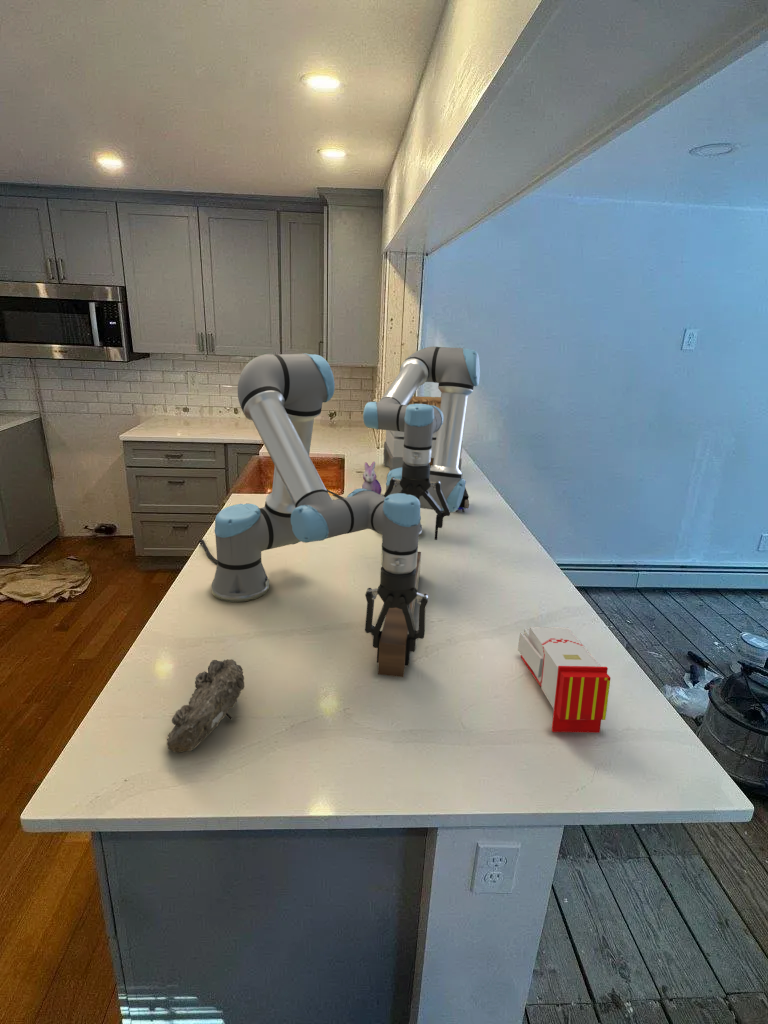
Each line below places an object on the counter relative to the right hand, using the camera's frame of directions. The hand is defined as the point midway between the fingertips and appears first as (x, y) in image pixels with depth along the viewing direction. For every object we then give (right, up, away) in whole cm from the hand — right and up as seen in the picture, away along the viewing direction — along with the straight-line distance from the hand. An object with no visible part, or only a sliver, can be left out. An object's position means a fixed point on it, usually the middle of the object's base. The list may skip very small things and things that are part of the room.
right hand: (411, 536), depth 160 cm
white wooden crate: (+9, +26, +115) cm, 119 cm away
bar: (-3, -20, -14) cm, 25 cm away
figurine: (-13, +13, +77) cm, 79 cm away
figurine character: (+22, +8, +69) cm, 73 cm away
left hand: (-6, -27, -33) cm, 42 cm away
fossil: (-41, -32, -51) cm, 73 cm away
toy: (+28, -31, -39) cm, 57 cm away
